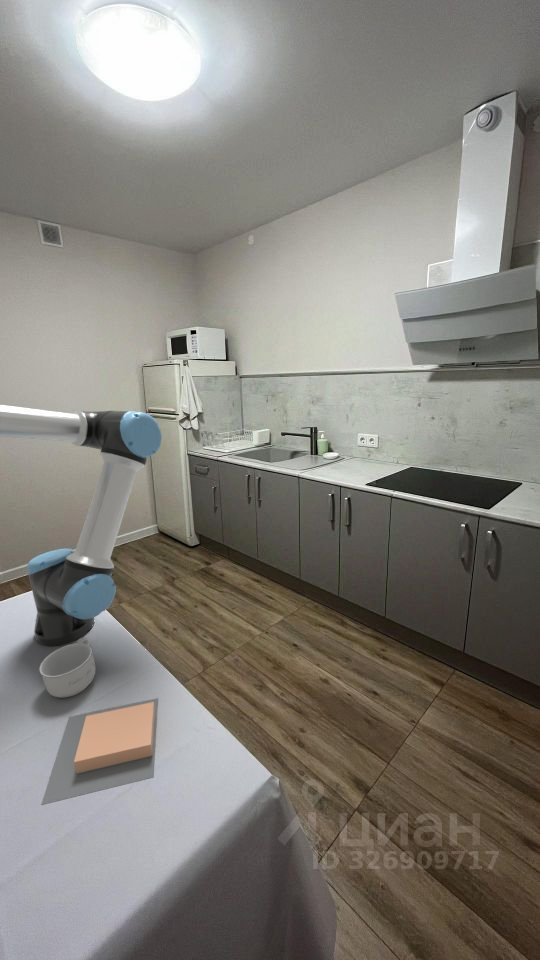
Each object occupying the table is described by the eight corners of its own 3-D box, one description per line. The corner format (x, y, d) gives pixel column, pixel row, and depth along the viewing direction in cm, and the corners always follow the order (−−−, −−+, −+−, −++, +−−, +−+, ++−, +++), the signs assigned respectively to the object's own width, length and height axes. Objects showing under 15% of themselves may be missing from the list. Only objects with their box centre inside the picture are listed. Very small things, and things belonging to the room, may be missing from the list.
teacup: (77, 708, 85) (71, 677, 83) (34, 702, 88) (27, 672, 86) (114, 663, 99) (109, 635, 96) (76, 658, 101) (70, 631, 99)
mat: (69, 718, 83) (69, 716, 83) (158, 700, 86) (158, 698, 86) (41, 807, 66) (41, 804, 66) (154, 779, 69) (153, 777, 69)
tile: (86, 716, 79) (153, 701, 82) (88, 727, 80) (155, 713, 82) (73, 762, 70) (150, 744, 72) (76, 774, 70) (152, 756, 73)
